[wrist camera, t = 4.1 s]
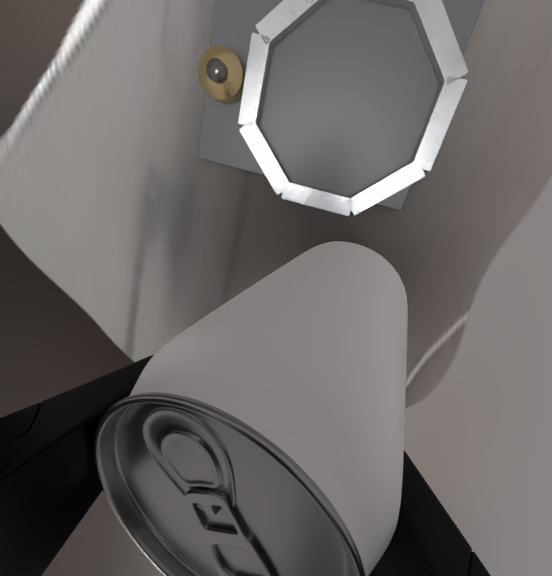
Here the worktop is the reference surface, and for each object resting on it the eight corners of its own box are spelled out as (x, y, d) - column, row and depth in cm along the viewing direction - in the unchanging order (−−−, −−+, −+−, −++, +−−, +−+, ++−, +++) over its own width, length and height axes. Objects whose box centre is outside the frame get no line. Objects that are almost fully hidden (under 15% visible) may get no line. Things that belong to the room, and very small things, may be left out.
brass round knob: (243, 107, 17) (233, 101, 16) (204, 98, 18) (190, 91, 16) (250, 58, 16) (241, 46, 15) (209, 48, 17) (195, 36, 15)
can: (383, 219, 14) (293, 336, 3) (425, 343, 15) (460, 734, 4) (267, 262, 17) (32, 394, 6) (308, 363, 18) (164, 618, 7)
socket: (402, 228, 18) (405, 231, 18) (232, 183, 19) (228, 184, 18) (496, -2, 14) (505, -11, 13) (269, -47, 15) (265, -58, 14)
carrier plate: (399, 209, 18) (400, 210, 18) (201, 157, 19) (198, 157, 19) (480, 1, 14) (485, -4, 14) (224, -50, 15) (221, -56, 15)
